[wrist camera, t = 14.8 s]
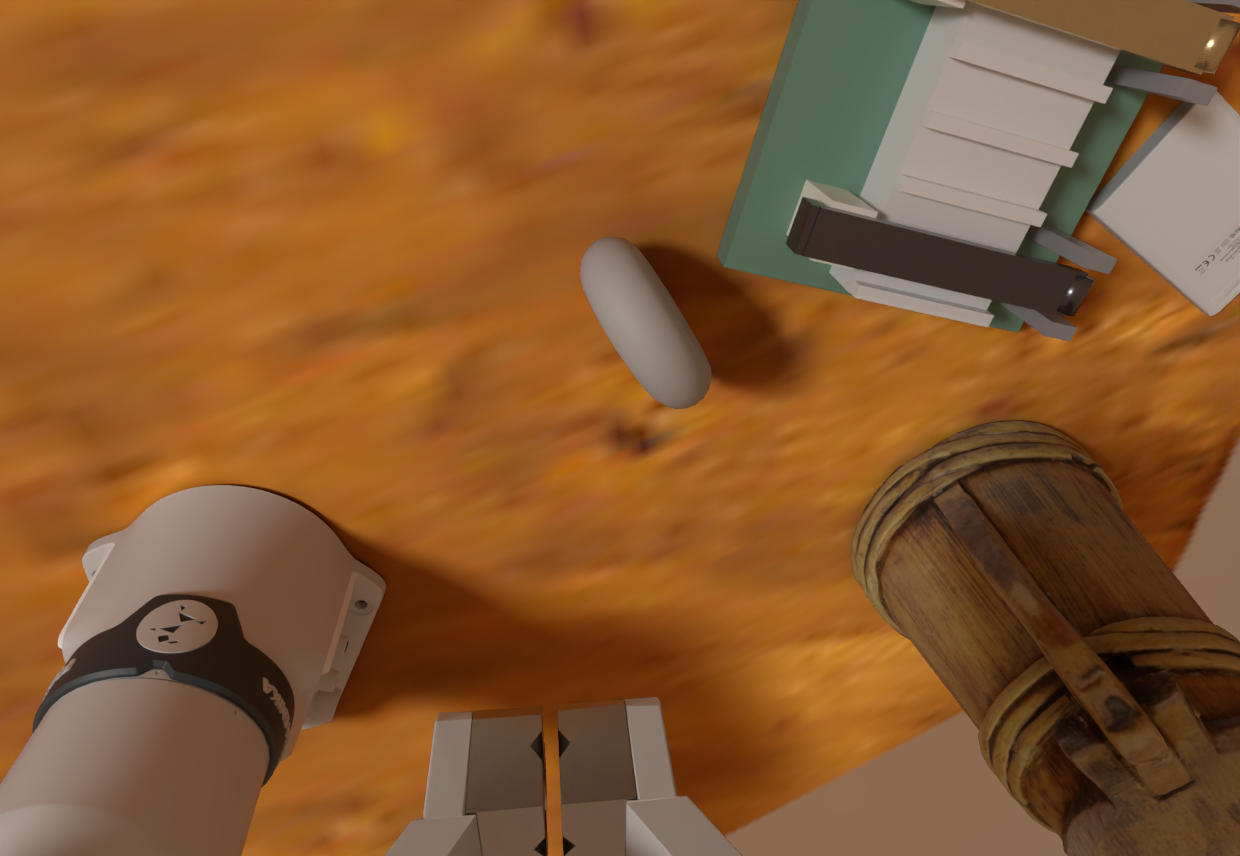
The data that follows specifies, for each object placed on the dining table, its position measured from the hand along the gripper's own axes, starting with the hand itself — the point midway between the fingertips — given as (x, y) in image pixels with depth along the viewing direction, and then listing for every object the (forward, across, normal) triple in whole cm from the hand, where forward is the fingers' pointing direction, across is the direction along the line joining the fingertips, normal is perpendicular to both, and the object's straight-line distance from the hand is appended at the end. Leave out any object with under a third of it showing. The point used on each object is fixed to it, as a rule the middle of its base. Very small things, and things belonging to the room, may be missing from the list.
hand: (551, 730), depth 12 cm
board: (+35, -22, -3) cm, 41 cm away
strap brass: (+30, -23, -9) cm, 39 cm away
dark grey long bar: (+30, -20, +3) cm, 36 cm away
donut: (+35, -6, +7) cm, 36 cm away
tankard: (+35, -29, +24) cm, 52 cm away
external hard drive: (+36, -39, +2) cm, 53 cm away
